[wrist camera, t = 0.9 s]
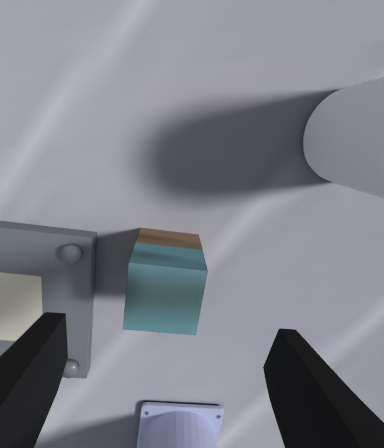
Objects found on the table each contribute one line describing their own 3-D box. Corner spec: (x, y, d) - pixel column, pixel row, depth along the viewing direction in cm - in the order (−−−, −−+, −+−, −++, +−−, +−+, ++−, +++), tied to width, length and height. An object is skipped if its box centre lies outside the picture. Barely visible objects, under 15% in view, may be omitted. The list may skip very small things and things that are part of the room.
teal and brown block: (190, 284, 23) (195, 335, 17) (135, 279, 22) (122, 329, 17) (198, 234, 22) (207, 271, 16) (140, 227, 21) (128, 262, 15)
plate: (90, 367, 25) (83, 384, 23) (-68, 356, 23) (-86, 374, 22) (96, 232, 21) (89, 240, 19) (-92, 210, 20) (-117, 217, 18)
